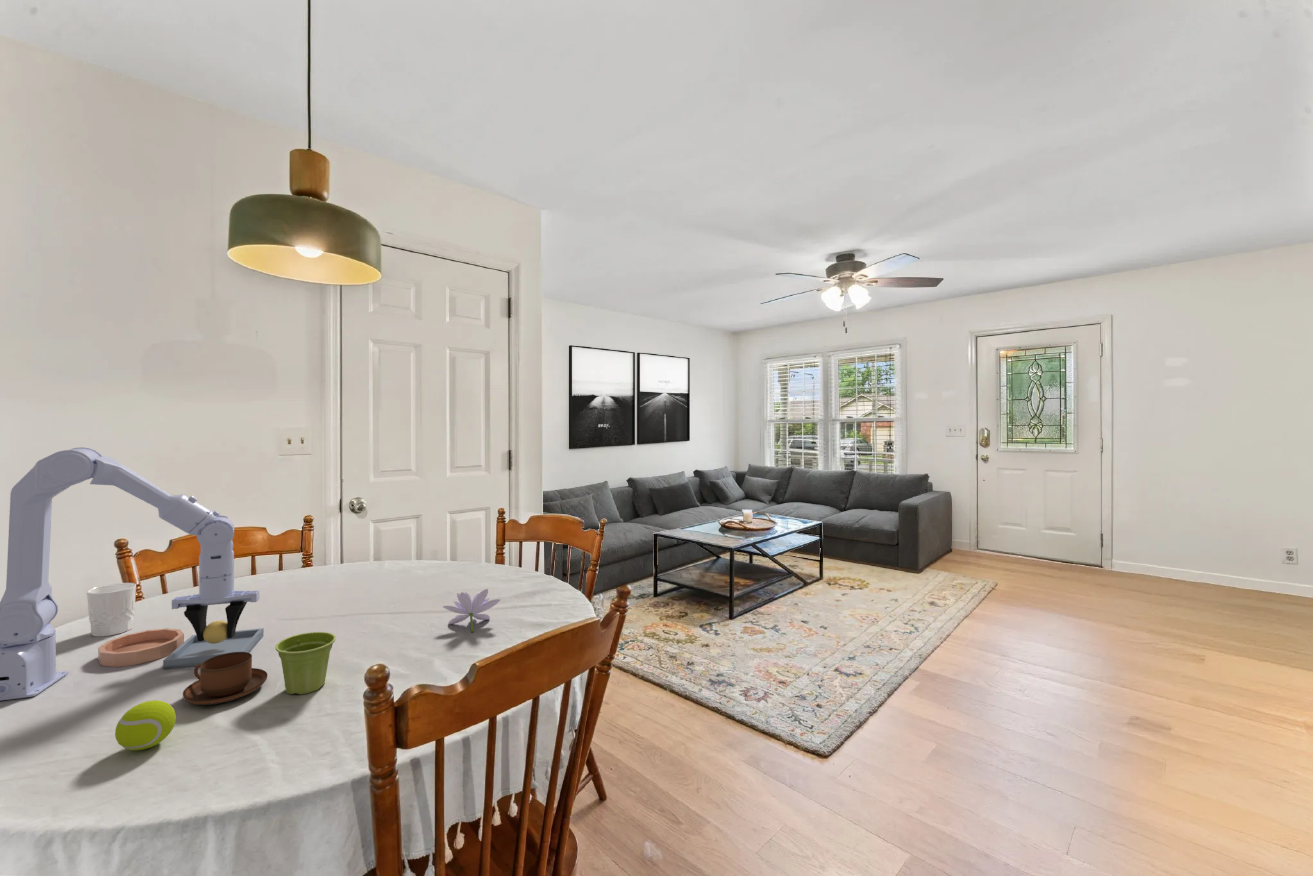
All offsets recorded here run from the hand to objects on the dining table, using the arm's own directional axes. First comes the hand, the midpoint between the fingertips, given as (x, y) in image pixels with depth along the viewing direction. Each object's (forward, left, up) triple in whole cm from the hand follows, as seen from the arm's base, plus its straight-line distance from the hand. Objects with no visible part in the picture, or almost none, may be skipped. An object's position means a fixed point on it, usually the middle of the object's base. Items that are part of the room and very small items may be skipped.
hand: (216, 638), depth 114 cm
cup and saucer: (-21, -8, -3) cm, 23 cm away
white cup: (+20, +26, -3) cm, 33 cm away
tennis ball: (-36, -3, -3) cm, 36 cm away
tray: (0, 0, -3) cm, 3 cm away
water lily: (-1, -52, -3) cm, 52 cm away
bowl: (+4, +14, -3) cm, 15 cm away
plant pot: (-23, -21, -3) cm, 31 cm away
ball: (0, 0, +1) cm, 1 cm away
